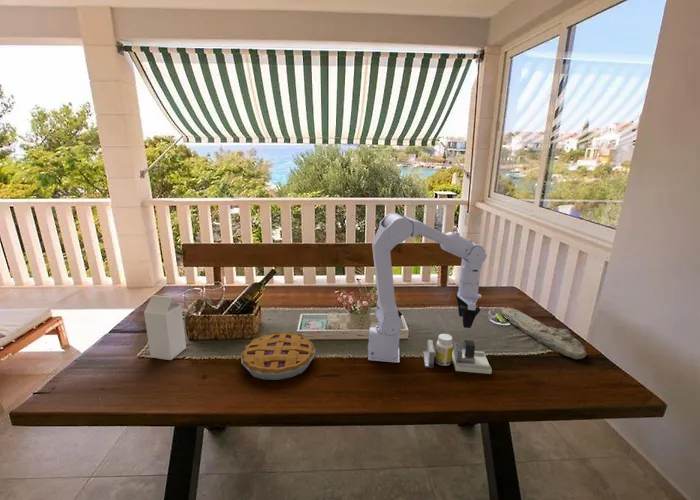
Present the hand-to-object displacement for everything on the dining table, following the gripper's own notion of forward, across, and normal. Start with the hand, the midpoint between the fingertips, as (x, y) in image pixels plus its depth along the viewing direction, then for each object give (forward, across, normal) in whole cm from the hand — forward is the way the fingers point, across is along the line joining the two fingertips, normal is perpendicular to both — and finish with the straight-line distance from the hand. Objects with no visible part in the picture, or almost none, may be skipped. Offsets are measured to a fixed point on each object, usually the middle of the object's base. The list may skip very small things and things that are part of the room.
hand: (464, 321), depth 111 cm
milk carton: (+10, -16, +91) cm, 93 cm away
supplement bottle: (+10, -8, +7) cm, 15 cm away
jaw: (+10, -8, +11) cm, 17 cm away
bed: (+10, -8, -1) cm, 13 cm away
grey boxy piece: (+8, -8, +1) cm, 12 cm away
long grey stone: (+10, +15, -29) cm, 34 cm away
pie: (+10, -15, +56) cm, 59 cm away
